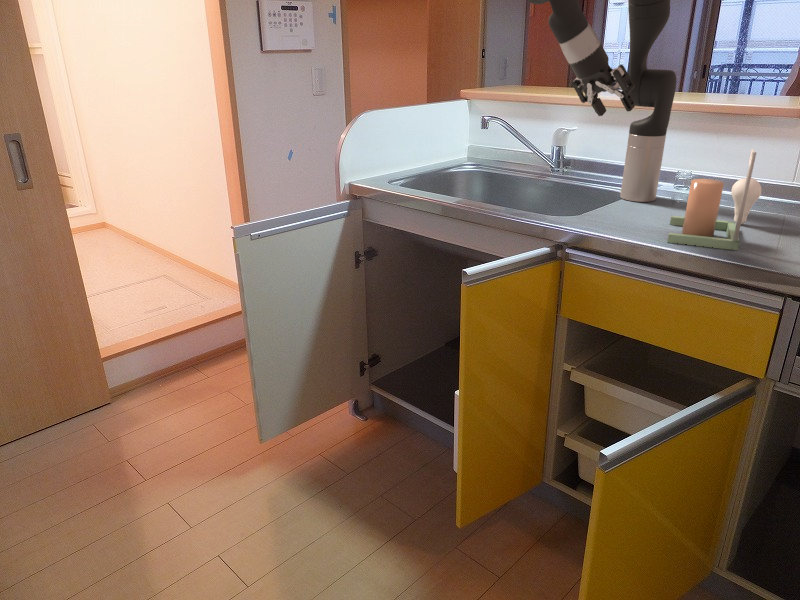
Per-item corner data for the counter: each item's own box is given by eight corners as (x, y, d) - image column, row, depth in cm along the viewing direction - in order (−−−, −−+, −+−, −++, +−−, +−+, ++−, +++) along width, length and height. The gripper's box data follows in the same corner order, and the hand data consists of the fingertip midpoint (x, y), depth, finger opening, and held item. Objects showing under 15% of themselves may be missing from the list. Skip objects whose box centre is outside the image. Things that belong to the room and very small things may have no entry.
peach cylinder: (681, 230, 143) (691, 177, 138) (712, 233, 141) (723, 180, 136) (681, 237, 138) (691, 183, 133) (713, 241, 135) (724, 186, 131)
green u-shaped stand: (670, 223, 149) (684, 137, 141) (733, 229, 144) (752, 141, 136) (667, 242, 134) (683, 148, 127) (737, 250, 129) (758, 153, 122)
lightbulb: (728, 219, 152) (737, 174, 147) (756, 223, 148) (766, 177, 144) (721, 224, 147) (731, 178, 143) (750, 229, 144) (761, 181, 139)
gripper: (618, 32, 131) (651, 96, 138) (570, 47, 143) (603, 105, 150) (597, 55, 129) (631, 118, 136) (551, 68, 142) (584, 125, 148)
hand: (616, 111), depth 143 cm, fingers open, 8 cm apart
